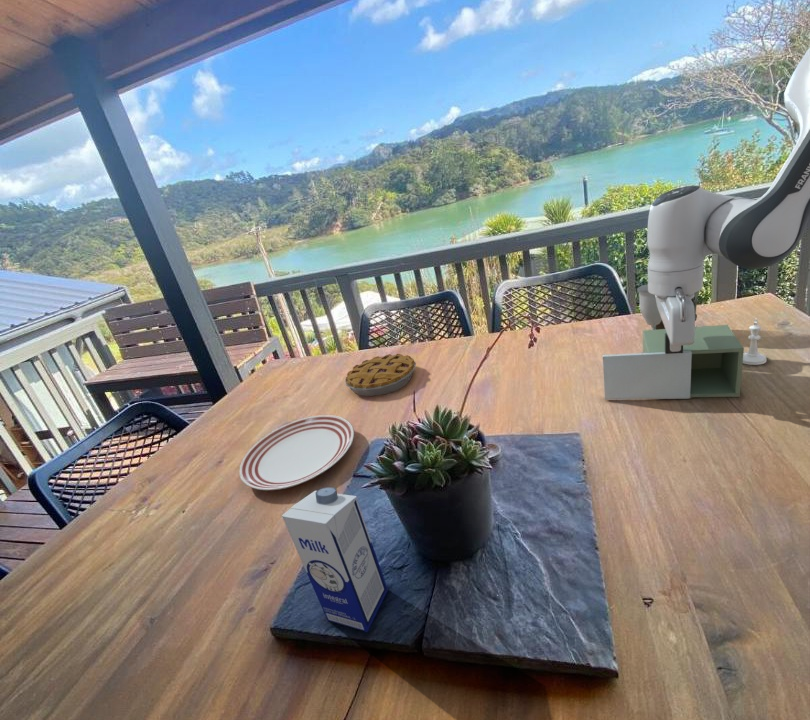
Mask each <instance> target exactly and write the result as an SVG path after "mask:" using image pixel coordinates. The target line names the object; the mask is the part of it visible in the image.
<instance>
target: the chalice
mask: <svg viewBox="0 0 810 720" xmlns="http://www.w3.org/2000/svg"><path fill="white" fill-rule="evenodd" d="M636 291H637V293H638V295H639V297H638V298H639V311H640V314H641V316H642V318H643V320H644V321H645V322H646V324H647V325H648V326H650V327H651V329H650V330H656V325H658V324H660V322H661V320H662V319H661V316H660V313H659V310H658V308H657V303H656V299H655V295H653V294H651V293H649V292H648V283H647V284H643V285H640V286H639V287H637V288H636Z"/></svg>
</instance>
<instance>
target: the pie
mask: <svg viewBox="0 0 810 720" xmlns="http://www.w3.org/2000/svg"><path fill="white" fill-rule="evenodd" d="M416 365H417V363H416V361H415V360H414V358H412V356H411V355H408V354H407V355H403V354H401V353H396V354H391V353H389V354H385V355H384V356H379V355H378V356H374V357H372V358H371V359H365V360H363V361H362V362H361V363H360V364H356V365H354V366H352V370H350V371H348V372H347V374H346V377H345V381H344V382H345V385H346V387H347V388H349V389H350V390H351V391H352V392H353V393H354V394H357V395H360V396H366V397H374V396H382V395H387V394H390V393H394V392H396V391H398V390H400V389H401V388H403V387H406V385H407V384H408V383H409V382H410V381H411V380H412V376H413V373H414V371H415V368H416Z"/></svg>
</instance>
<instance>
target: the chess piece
mask: <svg viewBox="0 0 810 720" xmlns="http://www.w3.org/2000/svg"><path fill="white" fill-rule="evenodd" d="M758 322H759V320H758V318H754V322H753V325H750V326H749V332H750V335H748V339H749V340H750V345H749V348H748V351H747V352H745V353H743V364H744V365H748V366H749V365H751V366H760V365H763V364H765V363H767V361H768V360H767V356H766V355H765V354H762V353H760V352H759V349H758V340H760V339H761V335H759V333H760V331H761V329H762V326H760V325H758Z"/></svg>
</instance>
